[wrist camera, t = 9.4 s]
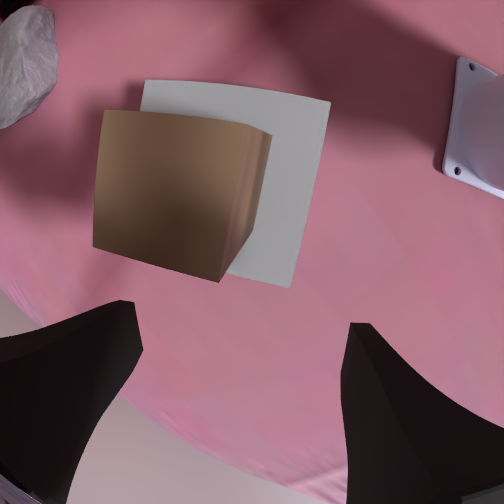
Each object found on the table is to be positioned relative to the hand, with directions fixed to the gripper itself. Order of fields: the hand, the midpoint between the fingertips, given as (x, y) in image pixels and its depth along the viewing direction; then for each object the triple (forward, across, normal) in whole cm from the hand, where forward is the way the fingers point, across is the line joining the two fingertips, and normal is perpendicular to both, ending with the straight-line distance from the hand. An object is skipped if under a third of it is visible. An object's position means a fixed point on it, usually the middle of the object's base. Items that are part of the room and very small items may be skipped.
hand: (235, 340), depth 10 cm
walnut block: (+6, +2, -5) cm, 8 cm away
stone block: (+10, +23, -14) cm, 29 cm away
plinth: (+10, +2, -4) cm, 11 cm away
